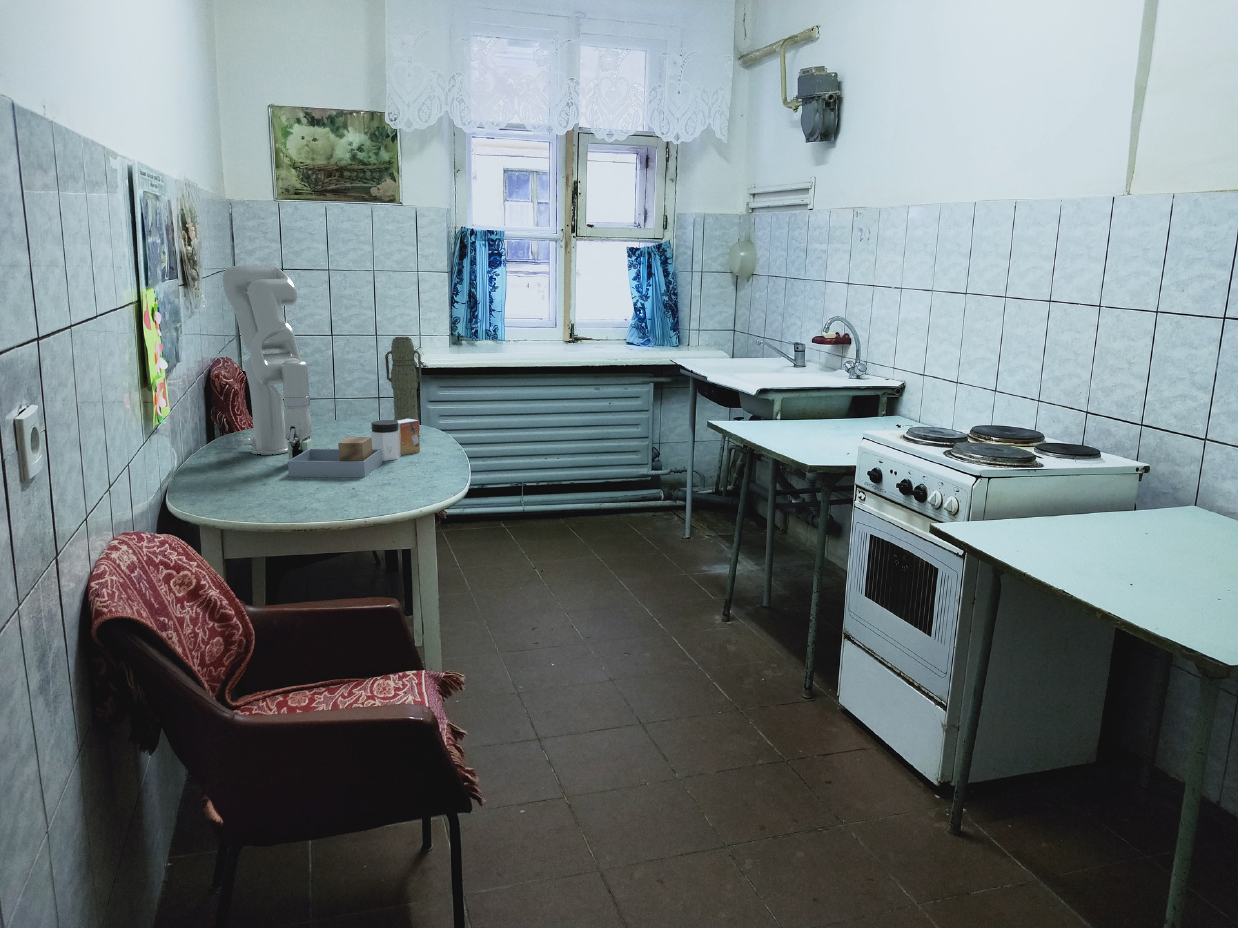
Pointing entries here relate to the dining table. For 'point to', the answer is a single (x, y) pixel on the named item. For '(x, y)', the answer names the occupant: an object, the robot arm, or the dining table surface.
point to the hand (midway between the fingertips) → (301, 459)
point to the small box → (409, 436)
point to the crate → (331, 464)
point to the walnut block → (355, 448)
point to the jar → (386, 438)
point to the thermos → (404, 378)
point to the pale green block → (305, 446)
